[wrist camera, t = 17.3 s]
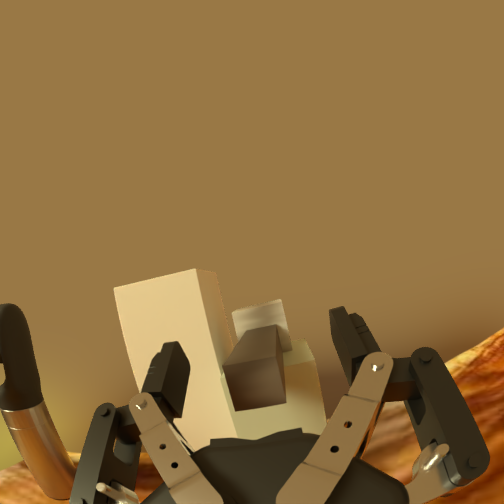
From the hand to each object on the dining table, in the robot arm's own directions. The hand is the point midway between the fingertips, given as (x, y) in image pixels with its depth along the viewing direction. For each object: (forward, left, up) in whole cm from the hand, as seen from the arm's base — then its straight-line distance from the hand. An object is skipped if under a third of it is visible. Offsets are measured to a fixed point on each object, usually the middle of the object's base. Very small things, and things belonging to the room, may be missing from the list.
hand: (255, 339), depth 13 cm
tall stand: (-11, +16, -26) cm, 33 cm away
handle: (-1, +9, -4) cm, 10 cm away
